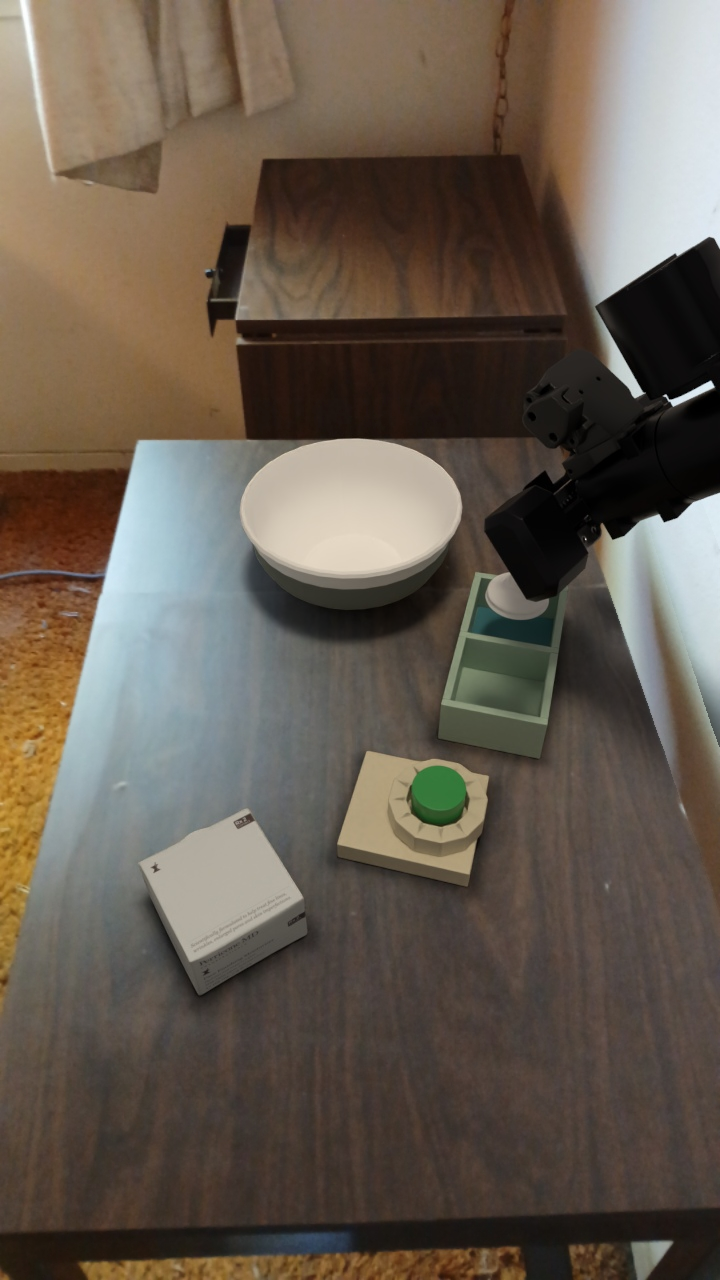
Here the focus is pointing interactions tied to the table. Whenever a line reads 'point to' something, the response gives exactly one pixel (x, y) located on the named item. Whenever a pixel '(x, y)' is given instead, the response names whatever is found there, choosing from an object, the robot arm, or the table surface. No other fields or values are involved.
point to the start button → (438, 794)
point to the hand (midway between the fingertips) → (513, 524)
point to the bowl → (351, 521)
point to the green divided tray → (502, 676)
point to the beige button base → (410, 822)
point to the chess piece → (512, 599)
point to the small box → (224, 899)
